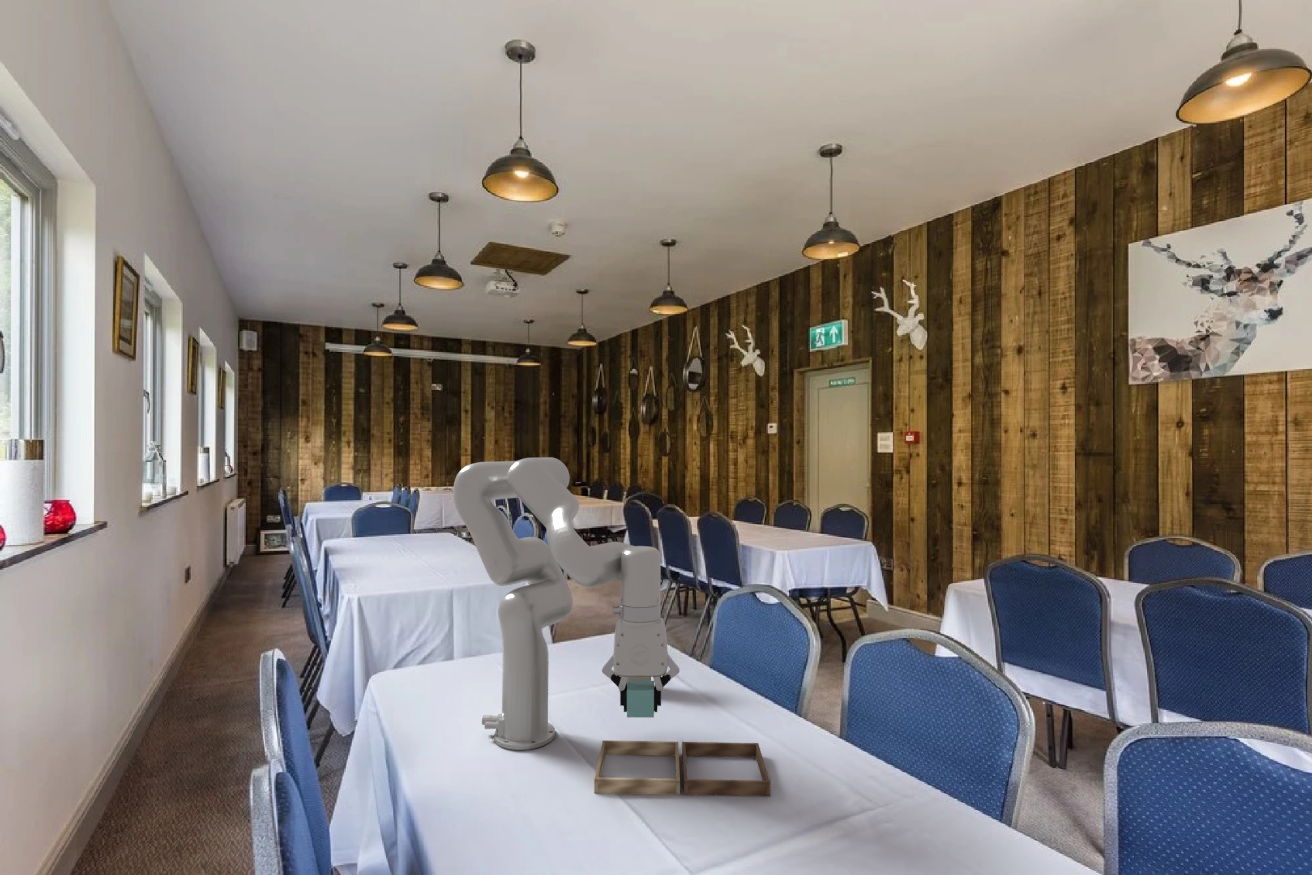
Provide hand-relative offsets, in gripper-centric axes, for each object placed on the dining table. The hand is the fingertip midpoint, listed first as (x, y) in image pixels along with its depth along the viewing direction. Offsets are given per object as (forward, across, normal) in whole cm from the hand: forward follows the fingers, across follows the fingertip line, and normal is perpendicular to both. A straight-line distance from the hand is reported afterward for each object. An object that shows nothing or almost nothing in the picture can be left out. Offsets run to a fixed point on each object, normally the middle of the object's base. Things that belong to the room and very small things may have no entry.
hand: (640, 708), depth 125 cm
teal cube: (+1, 0, 0) cm, 1 cm away
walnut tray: (+12, +16, 0) cm, 20 cm away
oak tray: (+12, 0, 0) cm, 12 cm away
